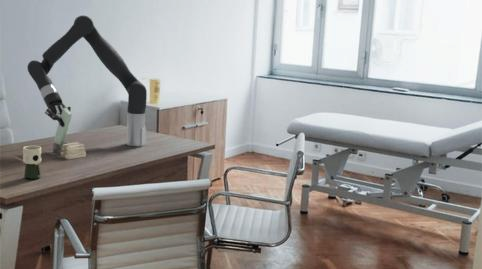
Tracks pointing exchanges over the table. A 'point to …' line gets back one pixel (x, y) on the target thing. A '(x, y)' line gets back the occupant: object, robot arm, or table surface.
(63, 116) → the slat
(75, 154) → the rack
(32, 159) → the character mug
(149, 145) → the table surface
